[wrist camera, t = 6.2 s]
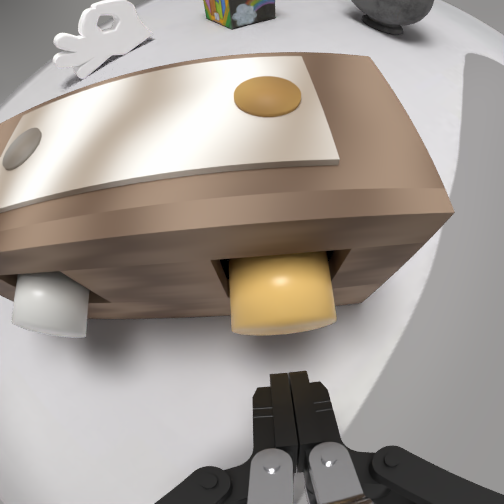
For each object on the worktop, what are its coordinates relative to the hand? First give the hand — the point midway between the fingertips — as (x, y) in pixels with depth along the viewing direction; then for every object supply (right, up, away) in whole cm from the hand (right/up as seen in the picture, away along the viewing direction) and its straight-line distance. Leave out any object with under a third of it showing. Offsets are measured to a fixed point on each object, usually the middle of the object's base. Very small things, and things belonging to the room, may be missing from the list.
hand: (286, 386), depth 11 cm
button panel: (-6, +6, +10) cm, 13 cm away
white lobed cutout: (-24, +36, +25) cm, 50 cm away
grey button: (-12, +2, +4) cm, 13 cm away
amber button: (0, +3, +3) cm, 5 cm away
